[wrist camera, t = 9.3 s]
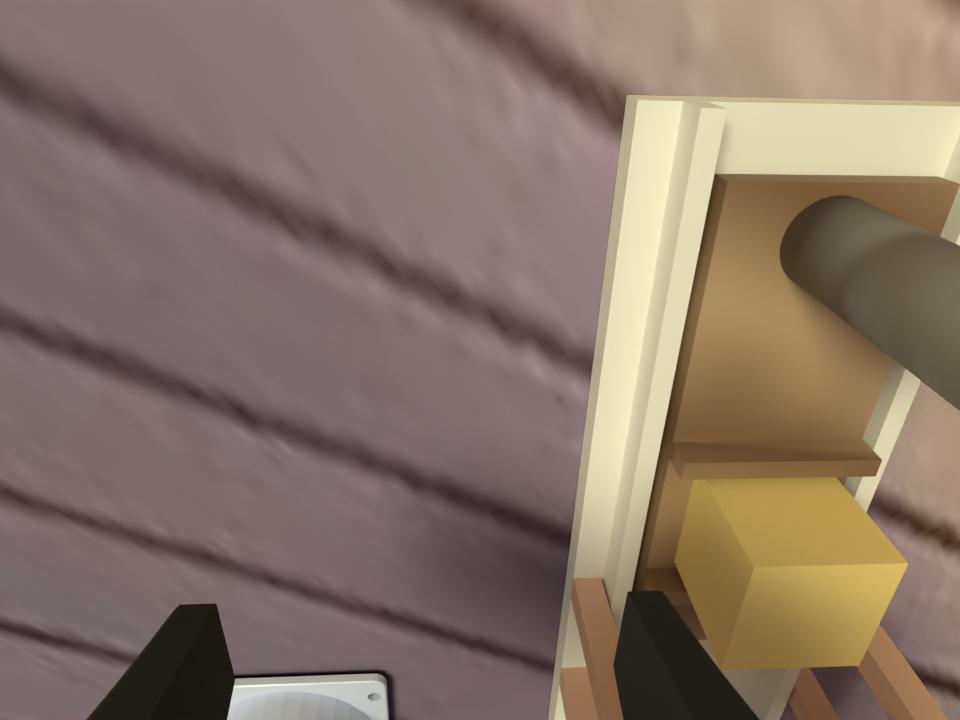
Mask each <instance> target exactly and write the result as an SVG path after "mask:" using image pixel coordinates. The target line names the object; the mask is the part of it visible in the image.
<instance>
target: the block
mask: <svg viewBox="0 0 960 720" xmlns="http://www.w3.org/2000/svg"><path fill="white" fill-rule="evenodd" d="M674 562H675V564H676V567H677V569H678V572H679V574H680V576H681V579H682V581H683V583H684V586H685V588H686V590H687V593H688V595H689V597H690V600H691V602H692V604H693V607H694V609H695V611H696V614H697V616H698V619H699V621H700V623H701V626H702V628H703V630H704V633H705V635H706V637H707V640H708V642H709V644H710V647H711V649H712V651H713V654H714V656H715V658H716V661H717V663H718V665H719V668H720V670H721V671H732V670H758V669H785V668H811V667H838V666H859V665H860V663H861V661H862V659H863V657H864V655H865V653H866V651H867V649H868V646H869V644H870V642H871V640H872V638H873V636H874V634H875V632H876V630H877V628H878V626H879V624H880V622H881V620H882V617H883V615H884V613H885V611H886V609H887V607H888V605H889V603H890V601H891V599H892V597H893V595H894V593H895V591H896V588H897V586H898V584H899V582H900V580H901V578H902V576H903V574H904V572H905V570H906V568H907V566H908V564H909V563H908V562H907V561H906V559H905V558H904V557H903V556H902V555H901V553H900V552H899V551H898V550H897V549H896V548H895V546H894V545H893V544H892V543H891V542H890V540H889V539H888V538H887V537H886V536H885V535H884V533H883V532H882V531H881V530H880V529H879V527H878V526H877V525H876V524H875V523H874V522H873V520H872V519H871V518H870V517H869V516H868V514H867V513H866V512H865V511H864V510H863V508H862V507H861V506H860V505H859V504H858V503H857V501H856V500H855V499H854V498H853V497H852V495H851V494H850V493H849V492H848V491H847V490H846V488H845V487H844V486H843V485H842V484H841V482H840V481H839V480H838V479H837V478H836V477H821V478H766V479H712V480H694V481H693V485H692V489H691V493H690V497H689V502H688V506H687V510H686V514H685V519H684V523H683V527H682V531H681V535H680V540H679V544H678V548H677V552H676V556H675V561H674Z"/></svg>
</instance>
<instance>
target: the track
mask: <svg viewBox="0 0 960 720" xmlns="http://www.w3.org/2000/svg"><path fill="white" fill-rule="evenodd" d="M715 174H786V175H867V176H938V177H941V178H944V179H947V180H950V181H953V182H956V183H959V184H960V102H948V101H898V100H849V99H799V98H749V97H699V96H649V95H627V98H626V106H625V114H624V122H623V130H622V138H621V146H620V154H619V162H618V169H617V177H616V185H615V193H614V201H613V209H612V217H611V225H610V233H609V241H608V249H607V256H606V264H605V272H604V280H603V288H602V296H601V304H600V312H599V320H598V328H597V336H596V344H595V351H594V359H593V367H592V375H591V383H590V391H589V399H588V407H587V415H586V423H585V431H584V439H583V446H582V454H581V462H580V470H579V478H578V486H577V494H576V502H575V510H574V518H573V526H572V533H571V541H570V549H569V557H568V565H567V573H566V581H565V589H564V597H563V605H562V613H561V621H560V628H559V636H558V644H557V652H556V660H555V668H554V676H553V684H552V692H551V700H550V708H549V715H548V720H623V715H622V710H621V705H620V700H619V695H618V689H617V684H616V678H615V673H614V667H613V664H614V659H615V654H616V649H617V643H618V638H619V633H620V628H621V623H622V618H623V613H624V607H625V602H626V597H627V592H630V591H632V587H633V582H634V577H635V572H636V567H637V562H638V557H639V552H640V547H641V542H642V537H643V532H644V527H645V522H646V517H647V512H648V507H649V502H650V497H651V492H652V487H653V482H654V477H655V472H656V467H657V462H658V457H659V452H660V447H661V442H662V437H663V431H664V426H665V421H666V416H667V411H668V406H669V401H670V396H671V391H672V386H673V381H674V376H675V371H676V366H677V361H678V356H679V351H680V346H681V341H682V336H683V331H684V326H685V321H686V316H687V311H688V306H689V301H690V296H691V291H692V286H693V281H694V276H695V271H696V266H697V261H698V256H699V251H700V246H701V241H702V236H703V231H704V226H705V221H706V216H707V211H708V206H709V201H710V195H711V190H712V185H713V180H714V175H715ZM940 237H942V238H944V239H946V240H949V241H951V242H953V243H955V244H957V245H959V246H960V186H959V189H958V191H957V194H956V197H955V199H954V202H953V204H952V207H951V210H950V212H949V215H948V217H947V220H946V223H945V225H944V228H943V230H942V233H941V236H940ZM920 382H921V380H920V379H918V378H917V377H916V376H915V375H913V374H912V373H911V372H909V371H908V370H907V369H905V368H904V367H903V366H902V365H900V364H899V363H898V362H896V361H895V360H894V359H893V360H892V363H891V366H890V368H889V371H888V373H887V376H886V379H885V381H884V384H883V386H882V389H881V392H880V394H879V397H878V399H877V402H876V405H875V407H874V410H873V412H872V415H871V418H870V420H869V423H868V425H867V428H866V431H865V433H864V436H863V438H862V440H863V441H864V442H865V443H866V444H867V445H868V446H869V447H870V448H871V449H872V450H873V451H874V452H875V453H876V454H877V455H878V456H879V457H880V458H881V459H882V462H881V465H880V467H879V469H878V472H877V474H876V476H875V477H847V480H846V483H845V485H844V487H845V488H846V490H847V491H848V492H849V493H850V494H851V495H852V497H853V498H854V499H855V500H856V501H857V503H858V504H859V505H860V506H861V507H862V508H863V510H864V511H865V512H867V510H868V507H869V505H870V502H871V500H872V498H873V495H874V493H875V490H876V488H877V486H878V483H879V481H880V478H881V476H882V474H883V471H884V469H885V466H886V464H887V462H888V459H889V457H890V454H891V452H892V450H893V447H894V445H895V442H896V440H897V438H898V435H899V433H900V430H901V428H902V426H903V423H904V421H905V418H906V416H907V414H908V411H909V409H910V406H911V404H912V402H913V399H914V397H915V394H916V392H917V390H918V387H919V385H920ZM698 641H699V642H700V644H701V645H702V646H703V648H704V649H705V650H706V652H707V653H708V655H709V656H710V657H711V659H712V660H713V661H714V663H715V664H716V665H717V666H718V668H719V665H718V663H717V661H716V658H715V656H714V654H713V651H712V649H711V647H710V644H709V642H708V640H698ZM856 667H857V668H858V670H859V671H860V673H861V675H862V676H863V678H864V679H865V681H866V682H867V684H868V686H869V687H870V689H871V690H872V692H873V693H874V695H875V697H876V698H877V700H878V701H879V703H880V705H881V706H882V708H883V709H884V711H885V712H886V714H887V716H888V717H889V719H890V720H948V718H947V717H946V716H945V714H944V713H943V711H942V710H941V709H940V707H939V706H938V704H937V703H936V702H935V700H934V699H933V697H932V696H931V695H930V693H929V692H928V690H927V689H926V688H925V686H924V685H923V683H922V682H921V681H920V679H919V678H918V676H917V675H916V674H915V672H914V671H913V669H912V668H911V667H910V665H909V664H908V662H907V661H906V660H905V658H904V657H903V655H902V654H901V653H900V651H899V650H898V648H897V647H896V646H895V644H894V643H893V641H892V640H891V639H890V637H889V636H888V634H887V633H886V632H885V630H884V629H883V628H882V626H881V625H880V624H879V626H878V628H877V630H876V632H875V634H874V636H873V638H872V640H871V642H870V644H869V646H868V649H867V651H866V653H865V655H864V657H863V659H862V661H861V663H860V665H859V666H856ZM719 669H720V668H719ZM721 672H722V673H723V674H724V676H725V677H726V678H727V679H728V681H729V682H730V683H731V684H732V686H733V687H734V688H735V689H736V691H737V692H738V693H739V694H740V696H741V697H742V698H743V699H744V701H745V702H746V703H747V704H748V706H749V707H750V708H751V709H752V711H753V712H754V713H755V714H756V716H757V717H758V718H759V719H760V720H780V718H781V716H782V713H783V711H784V709H785V706H786V704H787V701H788V702H789V704H790V706H791V708H792V710H793V712H794V714H795V716H796V718H797V720H839V718H838V716H837V715H836V713H835V711H834V709H833V707H832V706H831V704H830V702H829V700H828V699H827V697H826V695H825V693H824V691H823V690H822V688H821V686H820V684H819V683H818V681H817V679H816V677H815V675H814V674H813V672H812V670H811V668H785V669H758V670H732V671H721Z"/></svg>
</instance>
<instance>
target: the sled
mask: <svg viewBox="0 0 960 720" xmlns="http://www.w3.org/2000/svg"><path fill="white" fill-rule="evenodd" d="M959 186H960V184H959V183H956V182H953V181H950V180H947V179H944V178H941V177H938V176H867V175H786V174H715V175H714V180H713V185H712V190H711V195H710V201H709V206H708V211H707V216H706V221H705V226H704V231H703V236H702V241H701V246H700V251H699V256H698V261H697V266H696V271H695V276H694V281H693V286H692V291H691V296H690V301H689V306H688V311H687V316H686V321H685V326H684V331H683V336H682V341H681V346H680V351H679V356H678V361H677V366H676V371H675V376H674V381H673V386H672V391H671V396H670V401H669V406H668V411H667V416H666V421H665V426H664V431H663V437H662V442H661V447H660V452H659V457H658V462H657V467H656V472H655V477H654V482H653V487H652V492H651V497H650V502H649V507H648V512H647V517H646V522H645V527H644V532H643V537H642V542H641V547H640V552H639V557H638V562H637V567H636V572H635V577H634V582H633V587H632V591H662V592H663V593H664V594H665V595H666V596H667V598H668V599H669V600H670V602H671V603H672V605H673V606H674V608H675V609H676V610H677V612H678V613H679V615H680V616H681V618H682V619H683V620H684V622H685V623H686V625H687V626H688V627H689V629H690V630H691V631H692V633H693V634H694V636H695V637H696V638H697V640H707V637H706V635H705V633H704V630H703V628H702V626H701V623H700V621H699V619H698V616H697V614H696V611H695V609H694V607H693V604H692V602H691V600H690V597H689V595H688V593H687V590H686V588H685V586H684V583H683V581H682V579H681V576H680V574H679V572H678V569H677V567H676V564H675V562H674V561H675V556H676V552H677V548H678V544H679V540H680V535H681V531H682V527H683V523H684V519H685V514H686V510H687V506H688V502H689V497H690V493H691V489H692V485H693V481H694V480H712V479H766V478H821V477H836V478H837V479H838V480H839V481H840V482H841V484H842V485H843V486H844V485H845V483H846V480H847V477H875V476H876V474H877V472H878V469H879V467H880V465H881V462H882V459H881V458H880V457H879V456H878V455H877V454H876V453H875V452H874V451H873V450H872V449H871V448H870V447H869V446H868V445H867V444H866V443H865V442H864V441H863V440H862V438H863V436H864V433H865V431H866V428H867V425H868V423H869V420H870V418H871V415H872V412H873V410H874V407H875V405H876V402H877V399H878V397H879V394H880V392H881V389H882V386H883V384H884V381H885V379H886V376H887V373H888V371H889V368H890V366H891V363H892V360H893V359H894V360H895V361H896V362H898V363H899V364H900V365H902V366H903V367H904V368H905V369H907V370H908V371H909V372H911V373H912V374H913V375H915V376H916V377H917V378H918V379H920V380H921V381H922V382H924V383H925V384H926V385H927V386H929V387H930V388H931V389H933V390H934V391H935V392H936V393H938V394H939V395H940V396H942V397H943V398H944V399H945V400H947V401H948V402H949V403H951V404H952V405H953V406H954V407H956V408H957V409H958V410H960V246H959V245H957V244H955V243H953V242H951V241H949V240H946V239H944V238H942V237H940V236H941V233H942V230H943V228H944V225H945V223H946V220H947V217H948V215H949V212H950V210H951V207H952V204H953V202H954V199H955V197H956V194H957V191H958V189H959Z"/></svg>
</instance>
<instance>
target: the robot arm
mask: <svg viewBox="0 0 960 720" xmlns="http://www.w3.org/2000/svg"><path fill="white" fill-rule="evenodd" d="M613 667H614V673H615V678H616V684H617V689H618V695H619V700H620V705H621V710H622V715H623V720H760V719H759V718H758V717H757V716H756V714H755V713H754V712H753V711H752V709H751V708H750V707H749V706H748V704H747V703H746V702H745V701H744V699H743V698H742V697H741V696H740V694H739V693H738V692H737V691H736V689H735V688H734V687H733V686H732V684H731V683H730V682H729V681H728V679H727V678H726V677H725V676H724V674H723V673H722V672H721V670H720V669H719V668H718V666H717V665H716V664H715V663H714V661H713V660H712V659H711V657H710V656H709V655H708V653H707V652H706V650H705V649H704V648H703V646H702V645H701V644H700V642H699V641H698V640H697V638H696V637H695V636H694V634H693V633H692V631H691V630H690V629H689V627H688V626H687V625H686V623H685V622H684V620H683V619H682V618H681V616H680V615H679V613H678V612H677V610H676V609H675V608H674V606H673V605H672V603H671V602H670V600H669V599H668V598H667V596H666V595H665V594H664V593H663V592H662V591H630V592H627V597H626V602H625V607H624V613H623V618H622V623H621V628H620V633H619V638H618V643H617V649H616V654H615V659H614V664H613ZM87 720H389V708H388V694H387V681H386V678H385V677H383V676H382V675H380V674H375V673H371V674H344V675H317V676H290V677H262V678H235V677H234V673H233V669H232V665H231V661H230V657H229V653H228V649H227V645H226V641H225V637H224V633H223V629H222V625H221V621H220V617H219V613H218V609H217V605H216V604H189V605H179V606H178V607H177V608H176V609H175V610H174V611H173V612H172V613H171V615H170V616H169V617H168V619H167V620H166V621H165V623H164V624H163V625H162V626H161V628H160V629H159V630H158V632H157V633H156V634H155V635H154V637H153V638H152V639H151V641H150V642H149V643H148V644H147V646H146V647H145V648H144V650H143V651H142V652H141V653H140V655H139V656H138V657H137V659H136V660H135V661H134V662H133V664H132V665H131V666H130V667H129V669H128V670H127V671H126V672H125V674H124V675H123V676H122V677H121V679H120V680H119V681H118V682H117V684H116V685H115V686H114V687H113V688H112V690H111V691H110V692H109V693H108V694H107V696H106V697H105V698H104V699H103V700H102V702H101V703H100V704H99V705H98V706H97V708H96V709H95V710H94V711H93V712H92V714H91V715H90V716H89V717H88V718H87Z"/></svg>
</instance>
